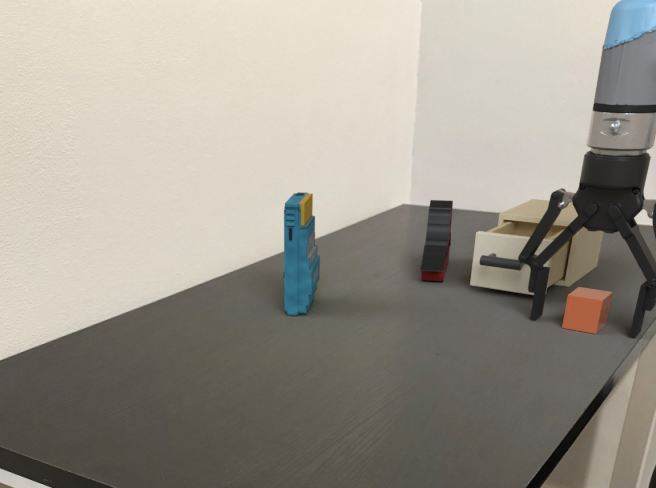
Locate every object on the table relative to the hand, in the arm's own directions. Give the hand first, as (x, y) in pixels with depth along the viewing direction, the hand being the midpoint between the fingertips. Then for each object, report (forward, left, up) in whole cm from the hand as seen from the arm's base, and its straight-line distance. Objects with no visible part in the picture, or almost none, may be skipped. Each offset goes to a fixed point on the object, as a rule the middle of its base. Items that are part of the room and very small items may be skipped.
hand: (583, 325), depth 106 cm
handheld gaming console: (+37, +13, 0) cm, 39 cm away
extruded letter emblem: (+29, -15, 0) cm, 33 cm away
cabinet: (+14, -25, 0) cm, 29 cm away
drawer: (+14, -12, +1) cm, 19 cm away
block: (0, 0, 0) cm, 0 cm away
